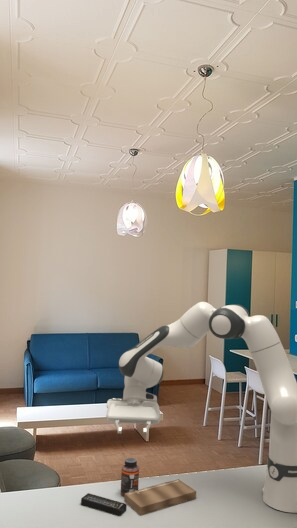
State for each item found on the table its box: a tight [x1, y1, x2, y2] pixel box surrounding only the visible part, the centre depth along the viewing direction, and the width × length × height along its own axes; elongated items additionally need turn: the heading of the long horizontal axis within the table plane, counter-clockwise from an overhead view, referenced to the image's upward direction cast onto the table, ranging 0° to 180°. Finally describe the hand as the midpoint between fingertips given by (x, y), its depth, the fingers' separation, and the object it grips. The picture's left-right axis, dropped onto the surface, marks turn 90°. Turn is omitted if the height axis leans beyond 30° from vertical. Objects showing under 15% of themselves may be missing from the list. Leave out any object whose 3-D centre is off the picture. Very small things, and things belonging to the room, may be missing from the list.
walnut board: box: [123, 478, 197, 516], centre depth 149 cm, size 22×10×3 cm, turn 123°
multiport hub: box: [80, 492, 128, 517], centre depth 143 cm, size 4×14×2 cm, turn 65°
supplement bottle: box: [120, 457, 140, 497], centre depth 153 cm, size 6×6×11 cm
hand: (132, 433), depth 165 cm, fingers open, 8 cm apart
